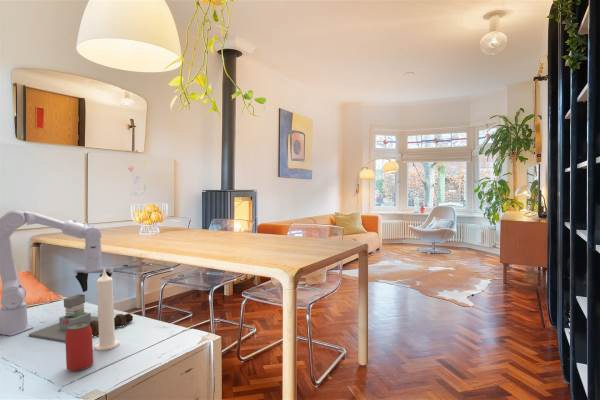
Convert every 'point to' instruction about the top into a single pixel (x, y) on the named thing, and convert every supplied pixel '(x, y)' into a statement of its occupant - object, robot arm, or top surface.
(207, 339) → the top surface
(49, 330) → the jack base
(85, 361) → the beer can
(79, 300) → the tall silver metal block
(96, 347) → the candle
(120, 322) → the bolt
